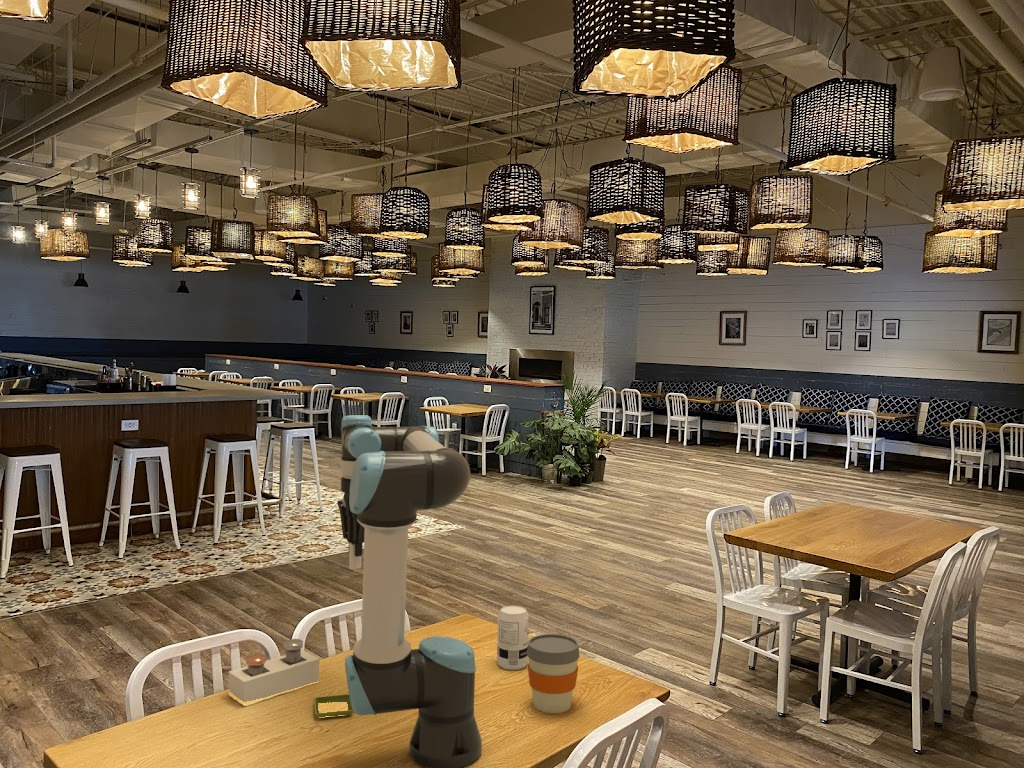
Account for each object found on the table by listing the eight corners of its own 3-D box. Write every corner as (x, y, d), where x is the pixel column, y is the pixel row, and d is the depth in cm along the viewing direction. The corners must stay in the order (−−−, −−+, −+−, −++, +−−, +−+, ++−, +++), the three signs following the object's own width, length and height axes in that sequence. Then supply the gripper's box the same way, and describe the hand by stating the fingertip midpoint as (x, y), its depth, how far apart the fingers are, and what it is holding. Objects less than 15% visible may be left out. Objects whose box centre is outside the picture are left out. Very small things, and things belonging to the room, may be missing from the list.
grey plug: (289, 680, 196) (289, 647, 196) (280, 674, 199) (280, 642, 199) (306, 674, 199) (306, 642, 199) (296, 669, 203) (296, 637, 202)
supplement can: (492, 661, 216) (493, 607, 215) (519, 657, 219) (520, 603, 218) (504, 673, 208) (505, 616, 208) (532, 668, 212) (534, 612, 211)
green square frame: (354, 718, 182) (354, 709, 182) (314, 722, 180) (315, 713, 180) (351, 702, 191) (351, 693, 191) (313, 705, 188) (314, 697, 188)
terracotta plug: (251, 697, 189) (251, 663, 189) (242, 690, 192) (242, 657, 192) (269, 691, 192) (269, 657, 192) (260, 685, 196) (260, 652, 195)
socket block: (244, 707, 186) (244, 682, 186) (228, 696, 192) (228, 671, 191) (319, 682, 200) (319, 659, 200) (302, 672, 206) (302, 650, 206)
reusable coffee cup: (541, 688, 199) (542, 629, 199) (587, 701, 193) (588, 640, 192) (516, 708, 189) (517, 645, 188) (563, 721, 182) (564, 657, 181)
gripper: (384, 477, 201) (382, 570, 202) (352, 471, 210) (352, 560, 211) (359, 480, 195) (358, 576, 196) (328, 474, 204) (328, 565, 205)
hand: (355, 568), depth 204 cm, fingers closed
